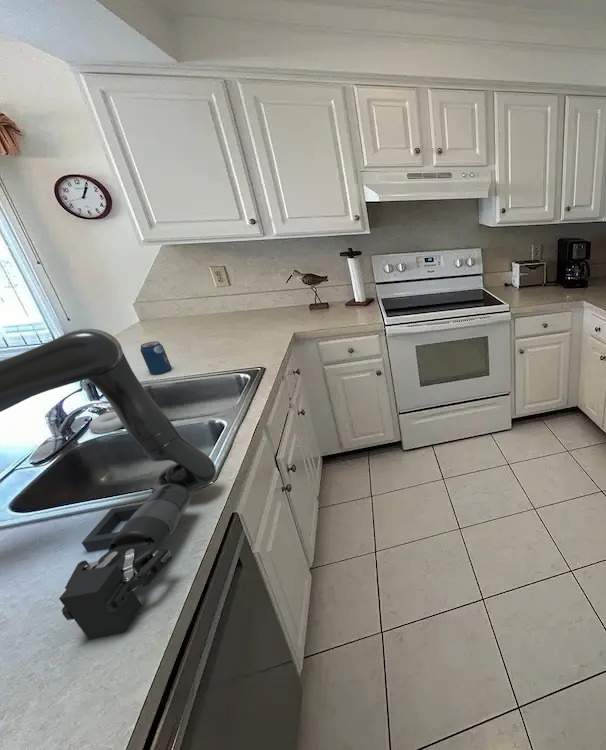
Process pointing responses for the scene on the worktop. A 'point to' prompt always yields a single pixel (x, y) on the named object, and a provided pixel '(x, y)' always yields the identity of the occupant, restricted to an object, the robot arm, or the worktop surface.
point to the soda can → (155, 358)
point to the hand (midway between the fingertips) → (89, 611)
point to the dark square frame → (108, 528)
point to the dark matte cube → (99, 602)
